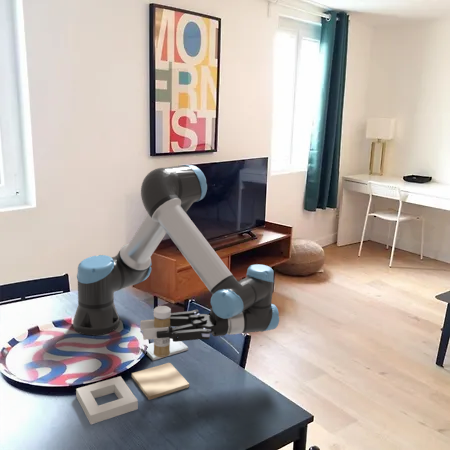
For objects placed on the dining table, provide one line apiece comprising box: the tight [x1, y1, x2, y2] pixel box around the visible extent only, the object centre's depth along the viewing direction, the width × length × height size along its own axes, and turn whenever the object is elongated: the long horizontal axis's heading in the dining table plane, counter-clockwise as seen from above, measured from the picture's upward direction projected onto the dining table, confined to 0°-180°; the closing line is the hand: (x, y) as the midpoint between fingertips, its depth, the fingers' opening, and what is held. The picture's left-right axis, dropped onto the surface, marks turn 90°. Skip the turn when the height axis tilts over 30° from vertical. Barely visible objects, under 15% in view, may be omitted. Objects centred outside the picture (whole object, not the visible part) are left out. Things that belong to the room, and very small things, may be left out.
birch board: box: [131, 362, 190, 401], centre depth 128 cm, size 12×12×1 cm
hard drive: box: [146, 339, 189, 362], centre depth 145 cm, size 2×8×12 cm
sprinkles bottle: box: [153, 305, 172, 358], centre depth 124 cm, size 5×5×13 cm
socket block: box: [75, 375, 139, 425], centre depth 118 cm, size 12×12×2 cm
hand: (142, 330), depth 122 cm, fingers closed on sprinkles bottle, 4 cm apart
